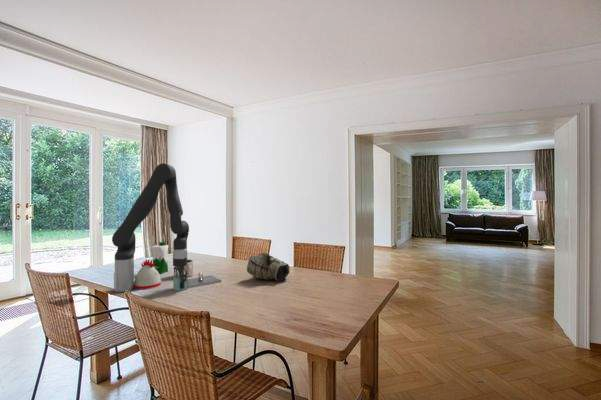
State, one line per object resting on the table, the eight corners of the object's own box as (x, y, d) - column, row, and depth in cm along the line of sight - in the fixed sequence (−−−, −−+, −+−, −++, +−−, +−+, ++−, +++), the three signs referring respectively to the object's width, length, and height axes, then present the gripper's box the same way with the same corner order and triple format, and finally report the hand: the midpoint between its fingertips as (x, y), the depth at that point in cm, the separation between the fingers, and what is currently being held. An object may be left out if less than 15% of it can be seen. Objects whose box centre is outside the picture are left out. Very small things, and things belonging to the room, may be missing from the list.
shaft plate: (188, 288, 176) (188, 277, 176) (179, 282, 187) (179, 273, 187) (221, 281, 189) (221, 272, 189) (211, 277, 200) (211, 268, 199)
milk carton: (170, 271, 215) (170, 242, 215) (160, 274, 206) (160, 244, 206) (159, 270, 217) (159, 241, 217) (149, 273, 209) (149, 243, 209)
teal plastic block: (176, 291, 170) (176, 278, 170) (173, 288, 174) (173, 276, 174) (187, 289, 174) (187, 277, 174) (183, 286, 178) (183, 275, 178)
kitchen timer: (150, 289, 173) (149, 262, 172) (128, 288, 175) (128, 261, 175) (165, 283, 186) (165, 257, 186) (145, 281, 189) (145, 256, 189)
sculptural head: (296, 258, 198) (267, 249, 213) (275, 256, 181) (245, 247, 196) (290, 285, 197) (262, 274, 212) (269, 286, 180) (239, 274, 195)
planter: (181, 279, 195) (181, 263, 195) (171, 276, 201) (171, 261, 201) (196, 275, 203) (196, 260, 203) (186, 273, 210) (186, 258, 210)
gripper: (168, 255, 177) (169, 285, 177) (177, 259, 166) (177, 291, 166) (182, 254, 182) (182, 283, 182) (191, 258, 171) (191, 288, 171)
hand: (180, 287), depth 174 cm, fingers closed on teal plastic block, 5 cm apart
